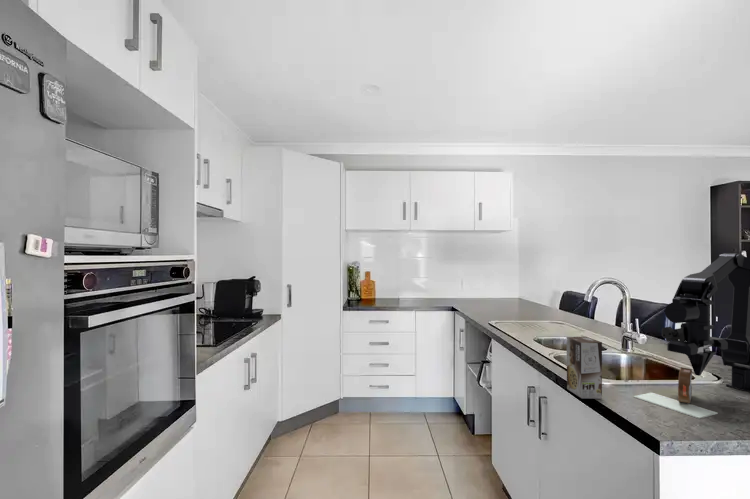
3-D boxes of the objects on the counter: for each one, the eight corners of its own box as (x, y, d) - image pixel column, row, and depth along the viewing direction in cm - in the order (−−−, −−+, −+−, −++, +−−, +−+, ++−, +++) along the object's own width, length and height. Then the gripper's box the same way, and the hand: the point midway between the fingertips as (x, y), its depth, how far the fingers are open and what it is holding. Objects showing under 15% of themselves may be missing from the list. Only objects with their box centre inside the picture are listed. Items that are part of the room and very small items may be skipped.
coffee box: (603, 398, 120) (603, 342, 120) (580, 399, 119) (580, 342, 120) (586, 388, 129) (586, 335, 129) (565, 388, 129) (565, 335, 129)
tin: (681, 393, 125) (679, 364, 125) (694, 394, 123) (692, 365, 123) (677, 405, 113) (675, 373, 114) (692, 407, 111) (689, 375, 112)
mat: (651, 393, 124) (651, 392, 124) (717, 413, 109) (717, 412, 109) (633, 397, 121) (633, 396, 121) (699, 418, 105) (699, 417, 105)
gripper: (687, 314, 131) (687, 364, 131) (648, 318, 124) (648, 371, 124) (728, 320, 121) (729, 374, 121) (689, 324, 114) (689, 382, 114)
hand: (697, 375), depth 120 cm, fingers closed
